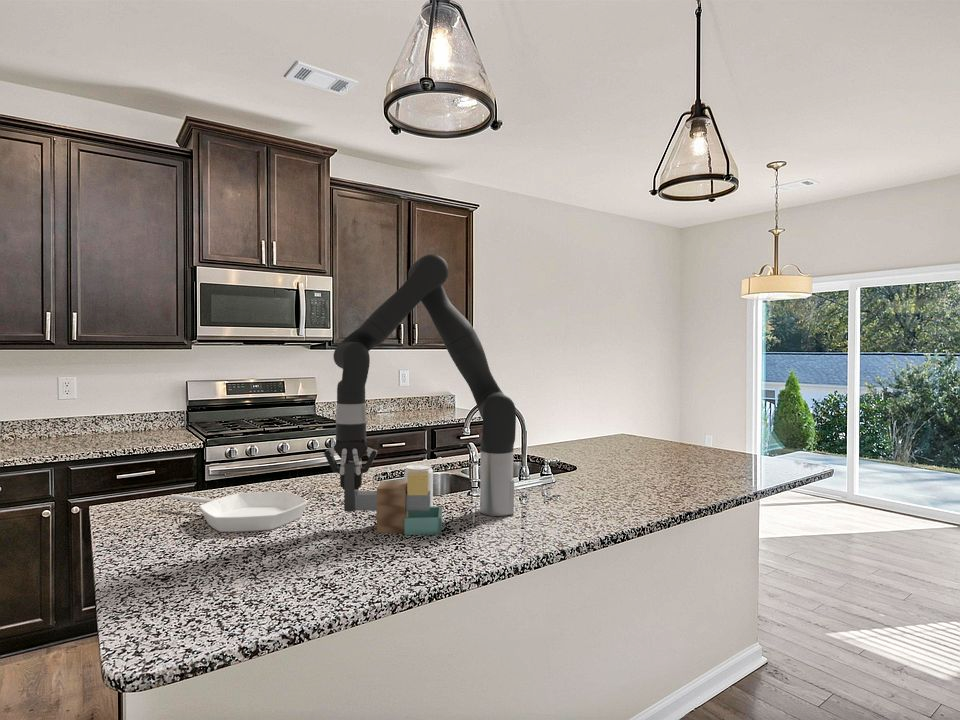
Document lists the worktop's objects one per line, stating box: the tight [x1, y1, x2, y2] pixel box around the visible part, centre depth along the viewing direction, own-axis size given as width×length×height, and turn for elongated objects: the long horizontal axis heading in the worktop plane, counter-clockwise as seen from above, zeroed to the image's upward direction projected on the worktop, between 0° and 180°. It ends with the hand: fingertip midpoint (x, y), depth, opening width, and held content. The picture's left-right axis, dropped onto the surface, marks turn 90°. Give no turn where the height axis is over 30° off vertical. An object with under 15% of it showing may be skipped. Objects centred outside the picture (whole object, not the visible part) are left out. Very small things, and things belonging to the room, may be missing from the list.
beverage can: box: [403, 463, 434, 506], centre depth 171 cm, size 8×8×12 cm
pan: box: [169, 491, 309, 533], centre depth 162 cm, size 28×41×4 cm
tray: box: [403, 505, 443, 536], centre depth 153 cm, size 9×11×4 cm
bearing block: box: [376, 480, 408, 534], centre depth 152 cm, size 7×8×11 cm
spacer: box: [408, 471, 429, 495], centre depth 153 cm, size 5×5×5 cm
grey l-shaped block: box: [343, 461, 430, 512], centre depth 152 cm, size 21×5×12 cm, turn 92°
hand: (351, 488), depth 152 cm, fingers closed on grey l-shaped block, 2 cm apart
